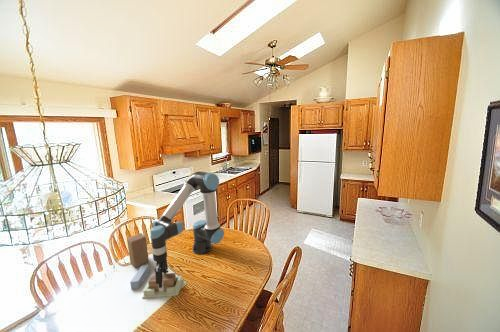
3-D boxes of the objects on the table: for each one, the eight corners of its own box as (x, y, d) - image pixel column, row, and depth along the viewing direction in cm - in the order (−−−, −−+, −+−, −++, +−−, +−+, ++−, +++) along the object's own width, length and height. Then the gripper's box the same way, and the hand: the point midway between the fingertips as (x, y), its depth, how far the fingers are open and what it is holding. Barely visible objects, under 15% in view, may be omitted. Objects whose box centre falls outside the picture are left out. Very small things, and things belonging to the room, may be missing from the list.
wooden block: (149, 261, 153) (146, 236, 150) (134, 268, 146) (131, 242, 143) (144, 256, 160) (141, 232, 157) (130, 262, 153) (126, 237, 149)
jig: (151, 282, 132) (150, 276, 131) (183, 279, 133) (182, 274, 133) (142, 298, 119) (141, 292, 119) (177, 295, 121) (177, 289, 120)
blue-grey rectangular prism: (142, 271, 143) (141, 265, 142) (149, 271, 143) (148, 264, 142) (131, 289, 127) (130, 281, 126) (138, 288, 127) (137, 281, 126)
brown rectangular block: (153, 284, 128) (152, 274, 127) (176, 282, 130) (175, 272, 128) (149, 292, 123) (148, 281, 121) (173, 290, 124) (172, 279, 122)
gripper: (159, 243, 131) (162, 276, 135) (146, 262, 112) (151, 300, 116) (171, 243, 132) (174, 275, 136) (160, 261, 113) (164, 298, 117)
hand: (163, 286), depth 126 cm, fingers closed on brown rectangular block, 6 cm apart
